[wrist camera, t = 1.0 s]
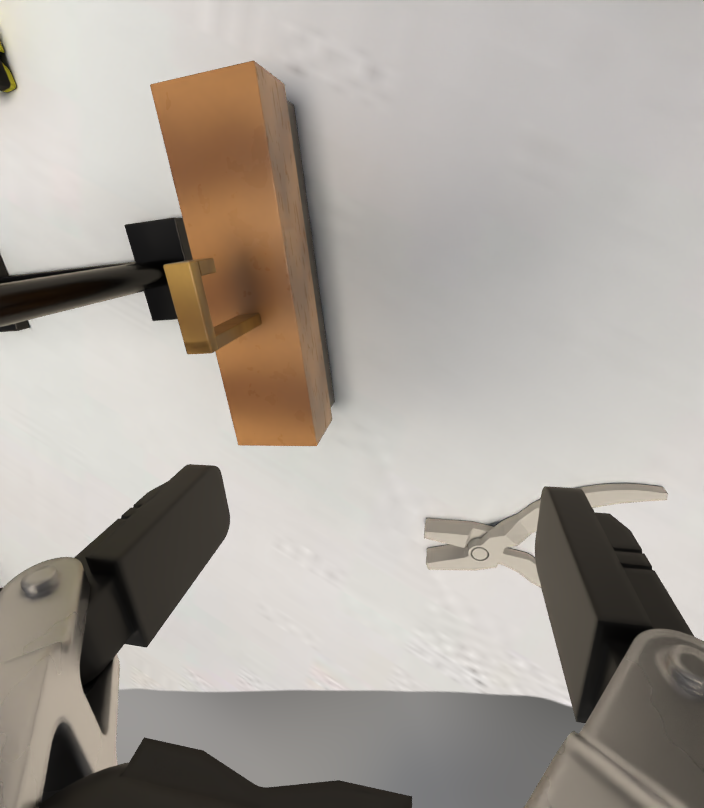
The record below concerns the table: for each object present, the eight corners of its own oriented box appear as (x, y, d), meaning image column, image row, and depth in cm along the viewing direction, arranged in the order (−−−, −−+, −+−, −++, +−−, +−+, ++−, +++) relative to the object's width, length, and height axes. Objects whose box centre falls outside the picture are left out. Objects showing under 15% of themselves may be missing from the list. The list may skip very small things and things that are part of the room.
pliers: (652, 619, 29) (429, 601, 32) (642, 599, 30) (430, 585, 34) (675, 498, 25) (420, 494, 29) (663, 483, 26) (421, 481, 30)
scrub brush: (213, 111, 23) (49, 41, 14) (298, 94, 22) (182, 4, 13) (272, 408, 30) (191, 496, 21) (339, 407, 29) (285, 500, 20)
